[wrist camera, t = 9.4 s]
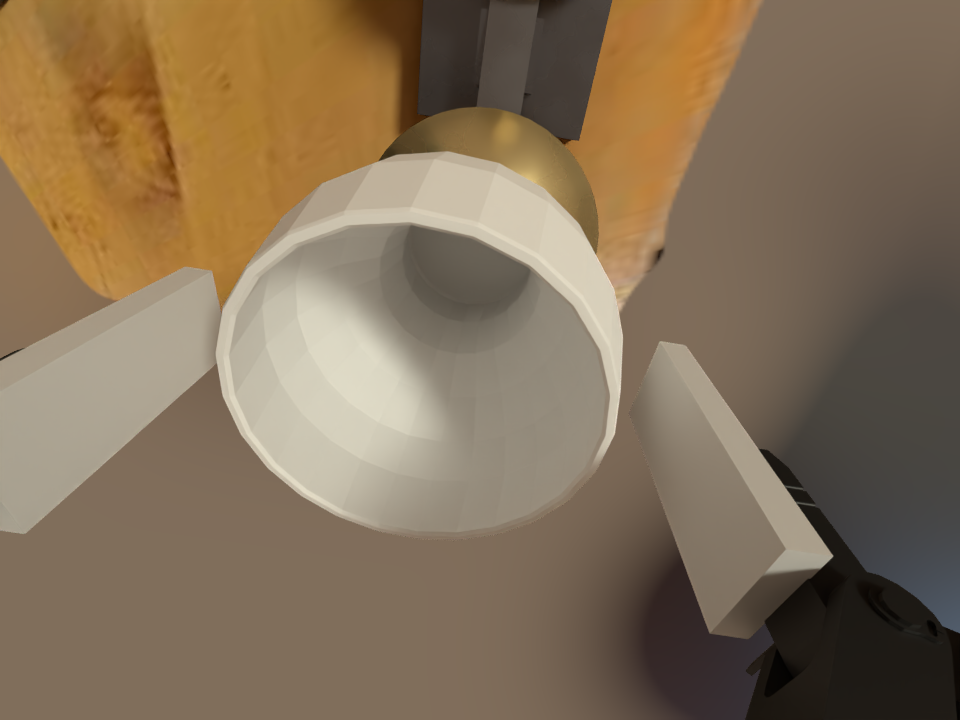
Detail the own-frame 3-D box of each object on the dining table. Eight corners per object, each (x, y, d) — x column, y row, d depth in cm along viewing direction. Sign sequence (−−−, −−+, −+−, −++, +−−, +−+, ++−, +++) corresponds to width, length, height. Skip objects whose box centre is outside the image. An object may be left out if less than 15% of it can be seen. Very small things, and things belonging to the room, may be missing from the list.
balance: (396, 280, 34) (340, 360, 23) (421, -416, 17) (269, -1232, 7) (554, 306, 34) (570, 397, 23) (726, -363, 17) (1046, -1087, 7)
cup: (408, 339, 26) (303, 560, 13) (349, 156, 21) (82, 233, 8) (579, 315, 24) (646, 544, 12) (562, 108, 19) (650, 110, 6)
